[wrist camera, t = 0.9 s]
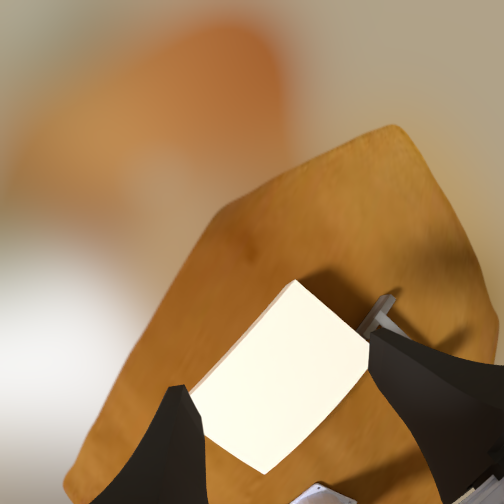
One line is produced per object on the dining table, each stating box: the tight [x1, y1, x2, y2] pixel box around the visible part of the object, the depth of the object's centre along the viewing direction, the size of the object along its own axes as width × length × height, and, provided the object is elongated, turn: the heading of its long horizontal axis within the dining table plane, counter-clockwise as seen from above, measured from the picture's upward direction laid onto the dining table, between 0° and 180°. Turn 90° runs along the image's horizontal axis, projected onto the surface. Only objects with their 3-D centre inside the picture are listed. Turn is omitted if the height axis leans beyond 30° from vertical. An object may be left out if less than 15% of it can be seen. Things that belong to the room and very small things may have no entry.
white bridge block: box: [189, 280, 369, 474], centre depth 28 cm, size 12×18×6 cm, turn 139°
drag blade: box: [355, 294, 410, 340], centre depth 27 cm, size 14×6×9 cm, turn 49°
